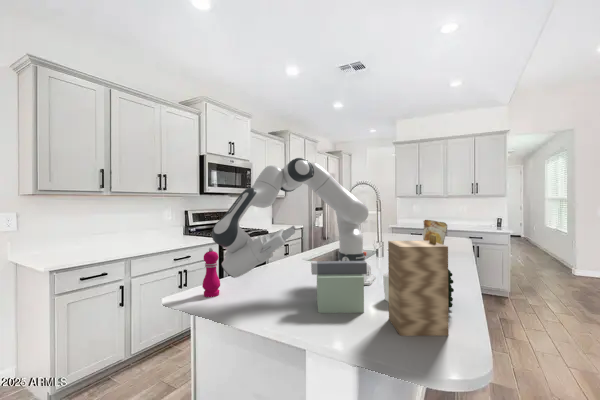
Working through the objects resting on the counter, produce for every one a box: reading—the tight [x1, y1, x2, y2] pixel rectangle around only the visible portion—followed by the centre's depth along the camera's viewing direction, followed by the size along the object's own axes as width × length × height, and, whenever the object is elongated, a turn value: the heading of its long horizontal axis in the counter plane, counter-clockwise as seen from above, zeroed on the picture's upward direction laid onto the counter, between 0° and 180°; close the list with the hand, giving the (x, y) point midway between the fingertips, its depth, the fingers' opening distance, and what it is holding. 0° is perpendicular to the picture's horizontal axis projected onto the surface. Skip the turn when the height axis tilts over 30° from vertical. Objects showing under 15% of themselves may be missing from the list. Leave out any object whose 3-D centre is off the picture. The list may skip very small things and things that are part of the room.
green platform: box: [316, 274, 365, 314], centre depth 113 cm, size 16×12×12 cm
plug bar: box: [310, 260, 368, 276], centre depth 113 cm, size 20×4×4 cm, turn 90°
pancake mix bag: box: [422, 219, 448, 245], centre depth 155 cm, size 7×19×28 cm, turn 4°
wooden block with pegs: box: [387, 235, 449, 337], centre depth 95 cm, size 14×12×28 cm
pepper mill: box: [201, 247, 221, 298], centre depth 128 cm, size 7×7×20 cm
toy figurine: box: [448, 268, 455, 308], centre depth 117 cm, size 9×19×25 cm
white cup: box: [382, 272, 389, 303], centre depth 119 cm, size 8×8×10 cm
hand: (294, 228), depth 113 cm, fingers open, 8 cm apart
